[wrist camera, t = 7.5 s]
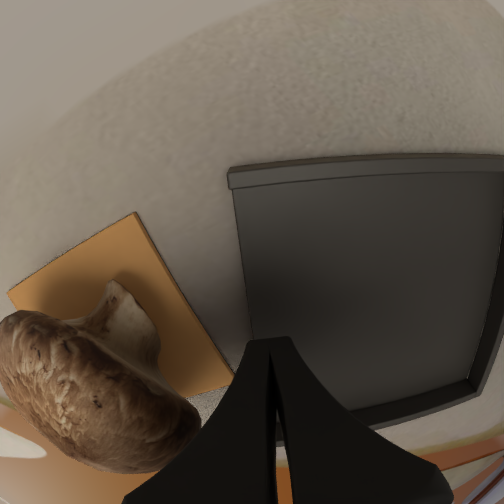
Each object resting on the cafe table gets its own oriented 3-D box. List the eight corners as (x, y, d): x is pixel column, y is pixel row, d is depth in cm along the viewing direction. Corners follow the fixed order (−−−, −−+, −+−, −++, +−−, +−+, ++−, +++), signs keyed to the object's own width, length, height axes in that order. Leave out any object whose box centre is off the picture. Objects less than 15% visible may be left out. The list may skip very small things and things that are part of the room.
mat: (135, 211, 10) (132, 213, 10) (237, 378, 13) (237, 382, 13) (9, 290, 12) (6, 293, 11) (103, 413, 14) (102, 416, 14)
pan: (267, 423, 14) (268, 448, 13) (229, 167, 10) (226, 172, 8) (492, 368, 14) (505, 384, 12) (531, 157, 10) (555, 162, 8)
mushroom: (115, 211, 7) (-1, 468, 3) (271, 354, 12) (226, 506, 8) (22, 249, 11) (-40, 375, 8) (140, 339, 16) (101, 443, 13)
